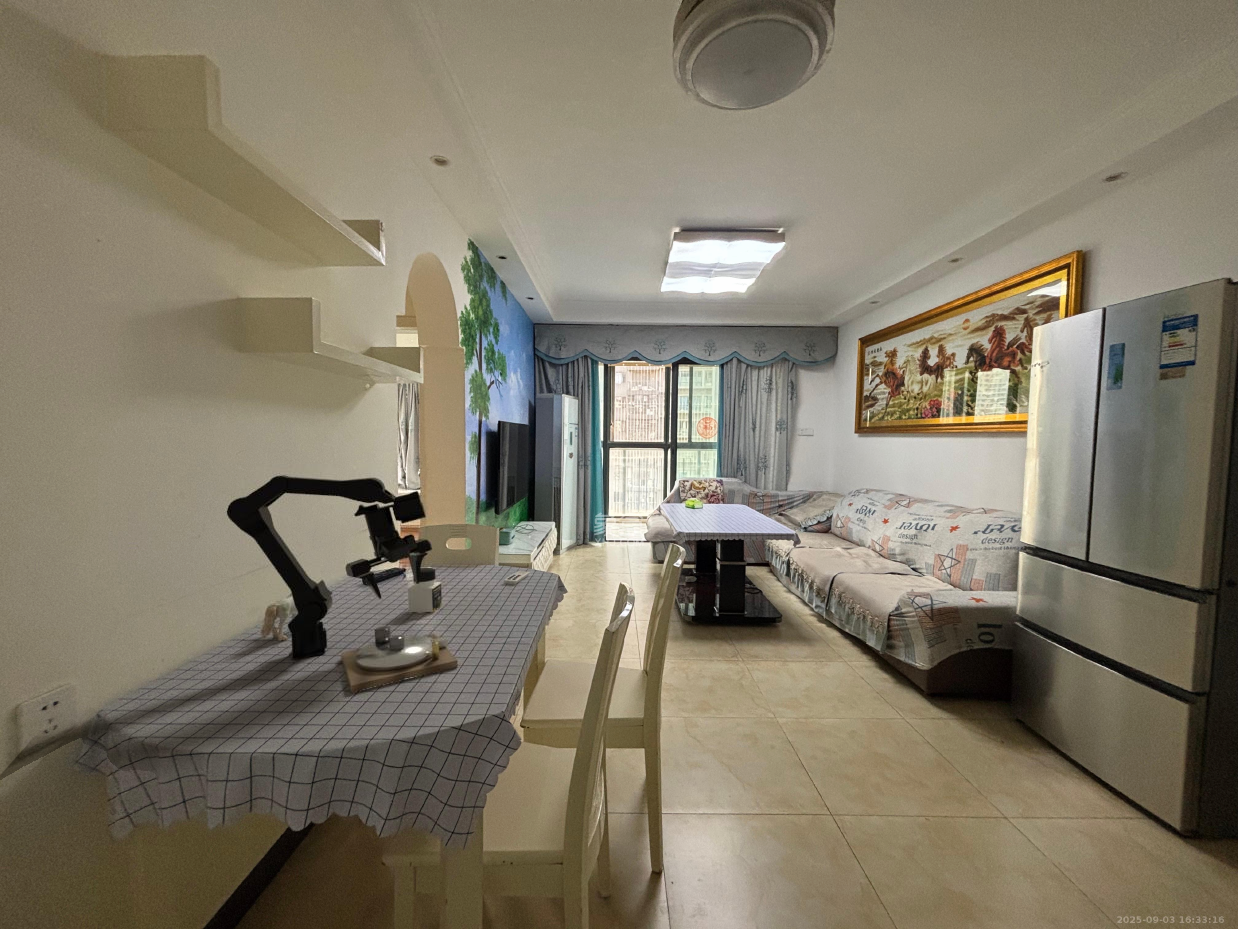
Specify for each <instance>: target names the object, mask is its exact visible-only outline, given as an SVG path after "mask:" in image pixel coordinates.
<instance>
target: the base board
mask: <svg viewBox="0 0 1238 929" xmlns="http://www.w3.org/2000/svg"><path fill="white" fill-rule="evenodd" d="M423 636H427V637H431V638H433V639H437V638H439V637H438V636H437V635H436V634H435V633H430V634H425V635H423ZM362 648H363V647H362ZM362 648H358V649H357V648H355V649H351V650H347V651H342V652H340V654H341V656H340V657H341V663H342V666H343V669H344V673H345V677H346V680H347V682H349V683H348V686H349V685H350V686H349V689H350V692H352V693H351V694H354V693H353V692H355V693H357V692H356V691H359V690H363V689H367V688H370V687H374V686H379V687H381V686H380V685H383V684H387V683H391V682H396V681H399V680H403V679H405V678H410V677H415V676H420V675H424V674H428V675H430V674H429V673H432V674H434V673H433V672H436V673H438V672H437V671H440V672H442V671H441V670H445V671H448V670H447V669H449V670H451V669H450V668H453V669H456V668H455V667H457V668H459V667H458V666H459V665H458V659H457V658H456V657H455V656H454V654H453V653H452V652H451V651H450V650H449V649H448V648H447V646H445V647H441V648H439V659H438V660H432V657H431V658H430V659H428V660H426V661H424V662H422V663H419V664H417V665H414V666H410V667H407V668H402V669H397V670H389V671H369V670H364V669H361V668H359V667H358V666H357V664H356V654H357V652H358V651H359V650H361V649H362ZM424 676H425V675H424ZM420 677H421V676H420ZM396 683H397V682H396ZM383 686H384V685H383ZM367 690H368V689H367ZM363 691H364V690H363ZM359 692H360V691H359Z"/></svg>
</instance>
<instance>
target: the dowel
mask: <svg viewBox="0 0 1238 929" xmlns="http://www.w3.org/2000/svg"><path fill="white" fill-rule="evenodd" d="M438 659H439V642H432V660H438Z"/></svg>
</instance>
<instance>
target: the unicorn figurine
mask: <svg viewBox="0 0 1238 929" xmlns="http://www.w3.org/2000/svg"><path fill="white" fill-rule="evenodd" d="M297 613H298V611H297V609H296V607H295V605H294V601H293V597H292V593H291V592H290V594H289V595H288V596H286V598H283V599H282V598H281V599H278V600H276V601H275V602H273V603H270V604H269V605H268V606H267V607H266V609H265V613H264V618H263V622H264V623H263V625H262V626H261V627H262V628H261V631H260V634H261V637H262V639H263V640H265V639H266V637H267V636H269V635H270V633H272V637H273V638H276V639H278V641H283V642H284V641H287V640H288V637H287V636H286V635H284V633H283V627H284V625H285V623H286V621H287V619H288V617H289V615H291V620H292V619H293V618H294V617H295V616H296V614H297ZM278 618H279V620H280V621H279V624H278V627H277V626H276V624H275V622H276V620H277V619H278Z"/></svg>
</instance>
